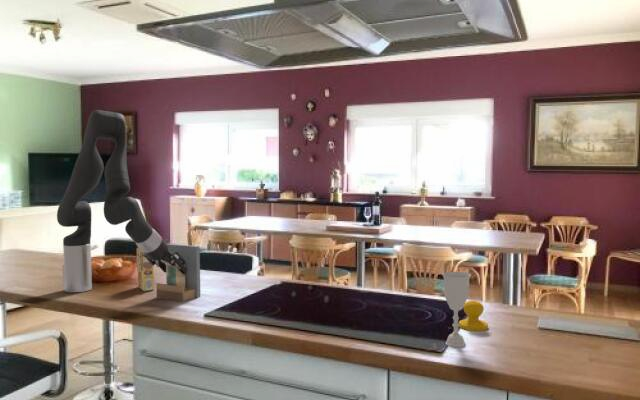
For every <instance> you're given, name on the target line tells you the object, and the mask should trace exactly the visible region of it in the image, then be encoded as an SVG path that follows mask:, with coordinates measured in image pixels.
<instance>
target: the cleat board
mask: <svg viewBox="0 0 640 400" xmlns="http://www.w3.org/2000/svg"><path fill="white" fill-rule="evenodd" d="M167 245H168V251H169V252H171V253H172V254H175V252H177V253H178V254H179V255H180V256H181V257H182V258H183V259H184V260H185V261H186V264H185V267H186V269H187V272H186V274H185V289H184V286H176V285H168V284H166V283H161V282H159V283H158V282H157V283H155V285H156V287H155V288H156V289H155V290H156V298H157V299H164V300H170V301H177V302H185V301H189V300H192V299H195V298H196V299H199V298H201V258H200V256H201V254H200V253H201V251H200V250H201V249H200V247H201V246H199V245H187V244H179V243H178V244H176V243H167ZM170 263H173V259H172V261H171V262H170Z"/></svg>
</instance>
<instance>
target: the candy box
mask: <svg viewBox="0 0 640 400" xmlns="http://www.w3.org/2000/svg"><path fill="white" fill-rule="evenodd" d="M144 255H145V254H144V253H143V252H142V250H141V249H140V248H139V247H136V267H137V268H136V269H137V288H138V289H140V290H142V292H148V291H154V290H155V271H154V265H152V264H151V263H150V262H149V261H148V260H147V258H146V257H145V256H144ZM152 261H153V260H152Z"/></svg>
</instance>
